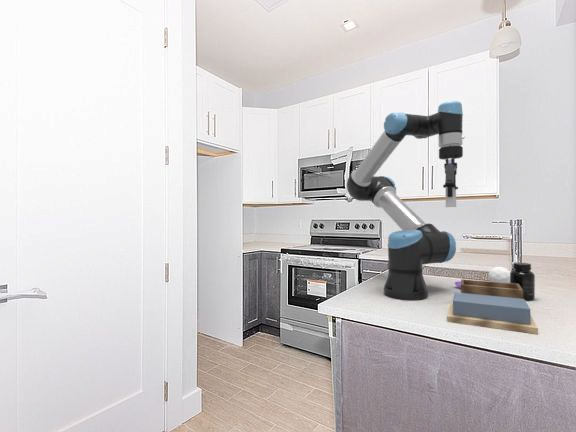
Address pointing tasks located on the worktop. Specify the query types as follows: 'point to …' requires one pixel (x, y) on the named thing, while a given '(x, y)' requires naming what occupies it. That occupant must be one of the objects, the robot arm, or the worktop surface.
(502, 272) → the ball
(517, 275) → the supplement bottle
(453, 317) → the oak cutting board
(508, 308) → the slate lid
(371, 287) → the worktop surface
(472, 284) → the walnut spice box
